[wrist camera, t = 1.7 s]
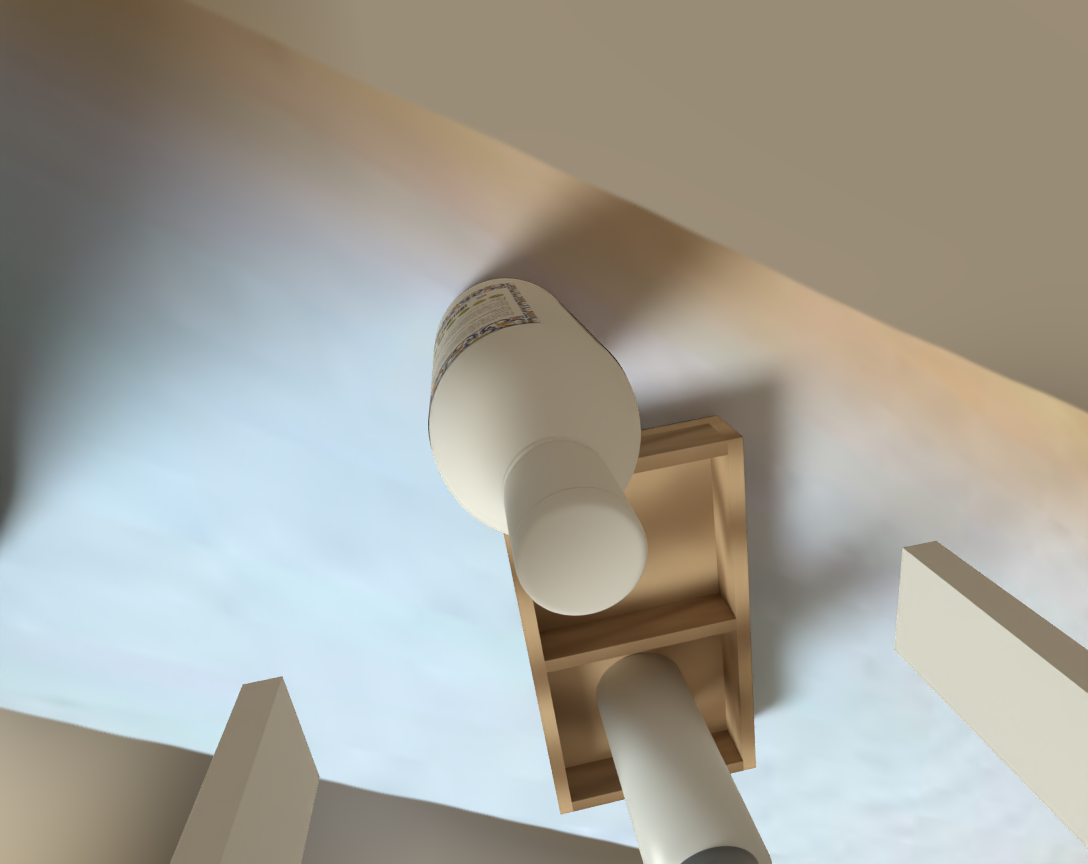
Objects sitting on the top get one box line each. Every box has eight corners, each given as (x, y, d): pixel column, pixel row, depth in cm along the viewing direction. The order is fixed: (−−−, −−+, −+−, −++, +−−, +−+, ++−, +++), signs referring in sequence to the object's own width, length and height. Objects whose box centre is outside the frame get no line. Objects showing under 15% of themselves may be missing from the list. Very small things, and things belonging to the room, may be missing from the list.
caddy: (490, 460, 34) (494, 486, 31) (717, 415, 35) (742, 437, 32) (552, 769, 43) (560, 814, 40) (734, 726, 44) (755, 767, 40)
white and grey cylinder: (577, 690, 40) (636, 915, 27) (649, 636, 39) (743, 843, 27) (629, 738, 42) (706, 967, 29) (699, 688, 41) (806, 902, 29)
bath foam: (416, 388, 32) (375, 657, 14) (461, 254, 30) (483, 358, 12) (543, 429, 34) (659, 717, 15) (594, 305, 32) (794, 465, 14)
